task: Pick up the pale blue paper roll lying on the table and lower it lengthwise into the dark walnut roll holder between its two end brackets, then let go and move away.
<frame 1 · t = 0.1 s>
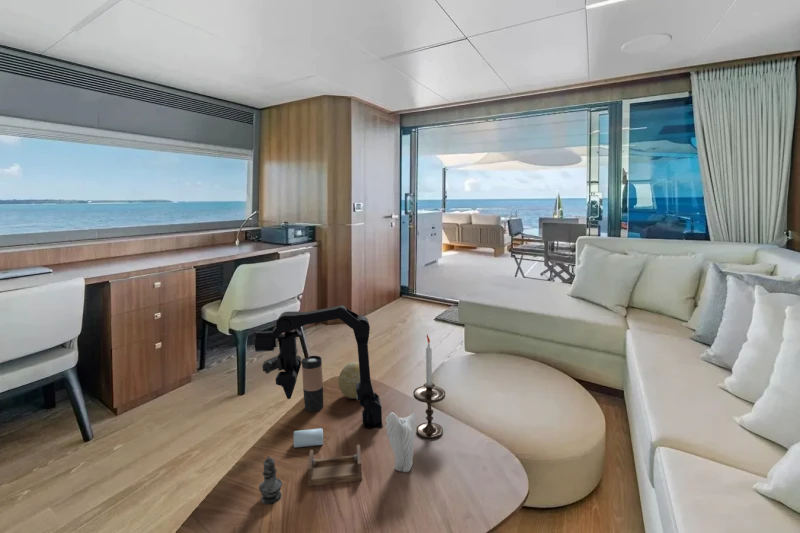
hand: (290, 392, 133), 15 cm above the table, tool pointing down, fingers open, 9 cm apart
candlestick: (429, 432, 134), on the table
roll: (308, 444, 128), on the table
fossilized egg: (354, 397, 160), on the table
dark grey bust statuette: (271, 497, 104), on the table
white angel figurine: (403, 467, 115), on the table
travel mug: (314, 408, 152), on the table
holder: (335, 472, 113), on the table
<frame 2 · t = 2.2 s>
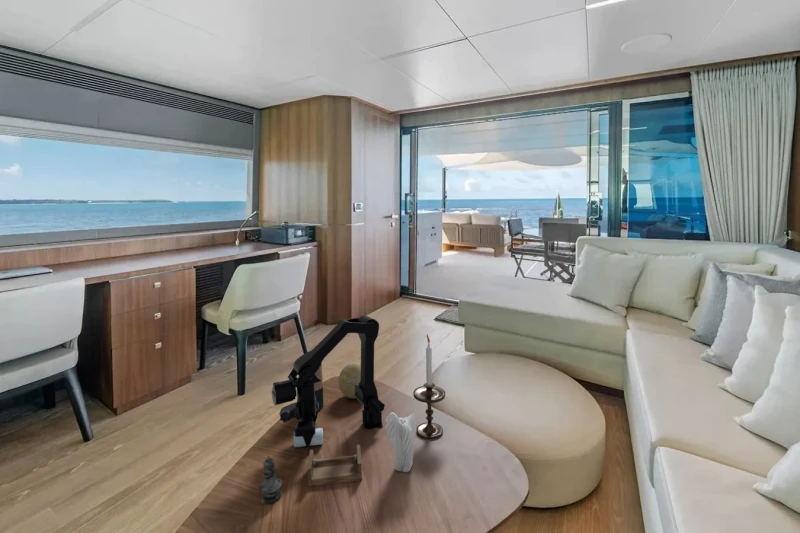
hand: (308, 440, 127), 1 cm above the table, tool pointing down, fingers closed on roll, 5 cm apart
roll: (308, 444, 128), on the table, touching gripper
everything else where it was.
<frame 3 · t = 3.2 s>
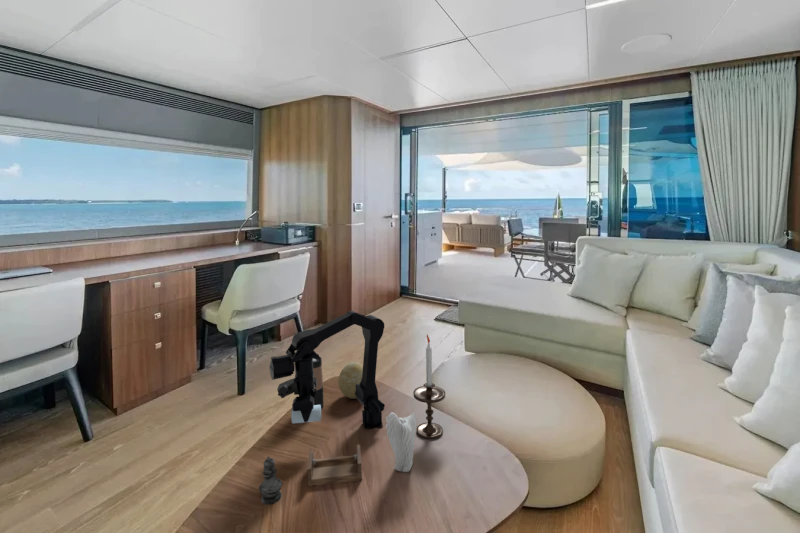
hand: (306, 417, 126), 10 cm above the table, tool pointing down, fingers closed on roll, 5 cm apart
roll: (306, 421, 126), point 8 cm above the table, touching gripper
everything else where it was.
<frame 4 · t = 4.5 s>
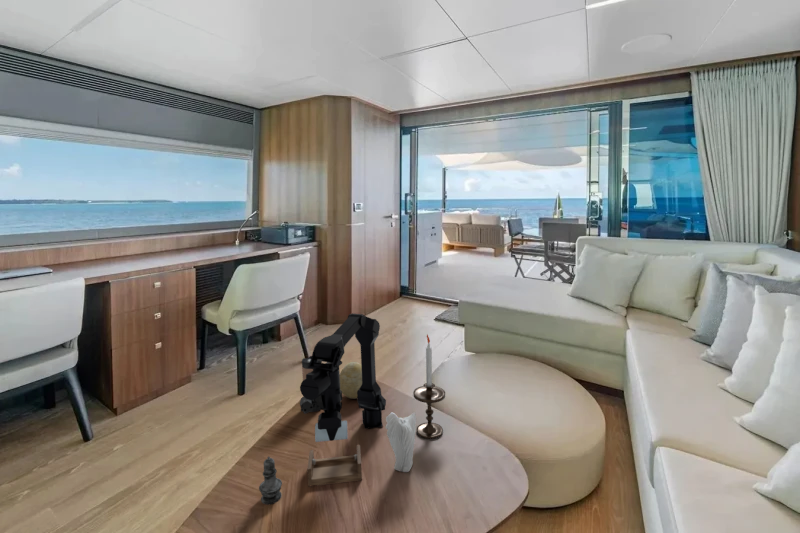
hand: (332, 435, 112), 12 cm above the table, tool pointing down, fingers closed on roll, 5 cm apart
roll: (332, 439, 112), point 10 cm above the table, touching gripper
everything else where it was.
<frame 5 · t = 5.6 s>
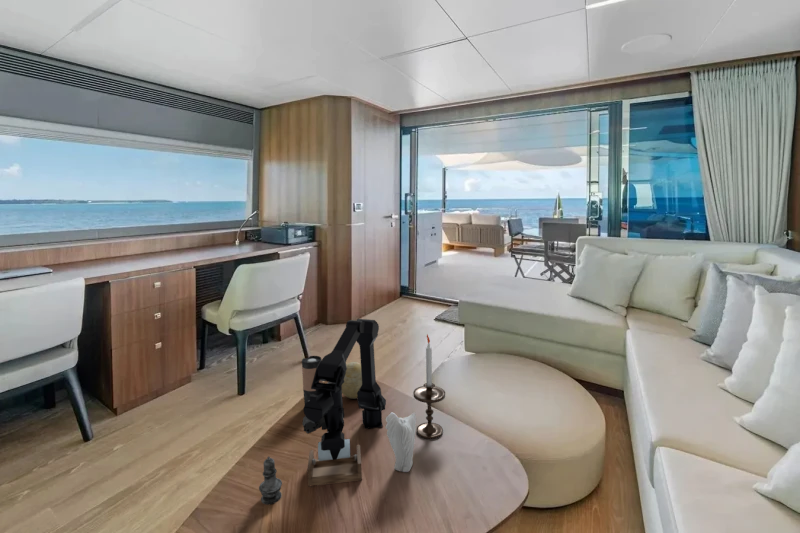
hand: (334, 453, 112), 6 cm above the table, tool pointing down, fingers closed on roll, 5 cm apart
roll: (334, 457, 113), point 5 cm above the table, touching gripper
everything else where it was.
when the fingers open (3 cm above the table, at t = 6.5 s): roll drops 1 cm, resting on holder.
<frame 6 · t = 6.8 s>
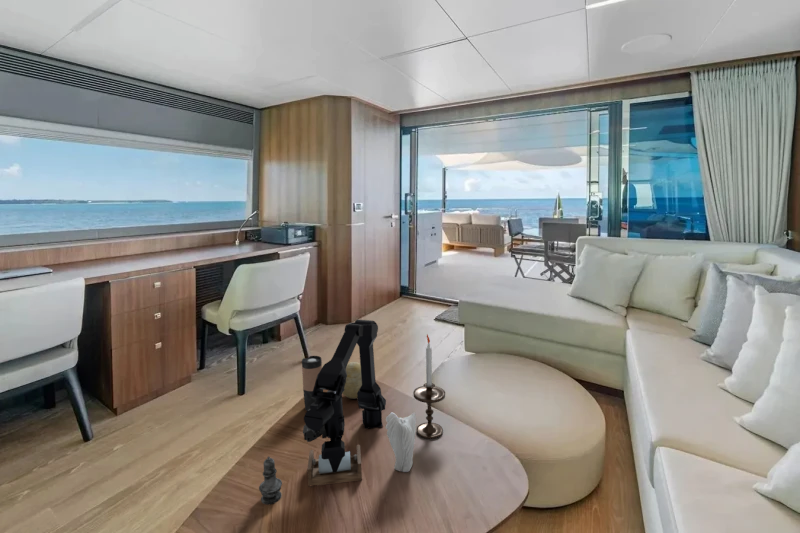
hand: (335, 461, 113), 3 cm above the table, tool pointing down, fingers open, 8 cm apart
roll: (335, 470, 113), point 1 cm above the table, touching holder
everything else where it was.
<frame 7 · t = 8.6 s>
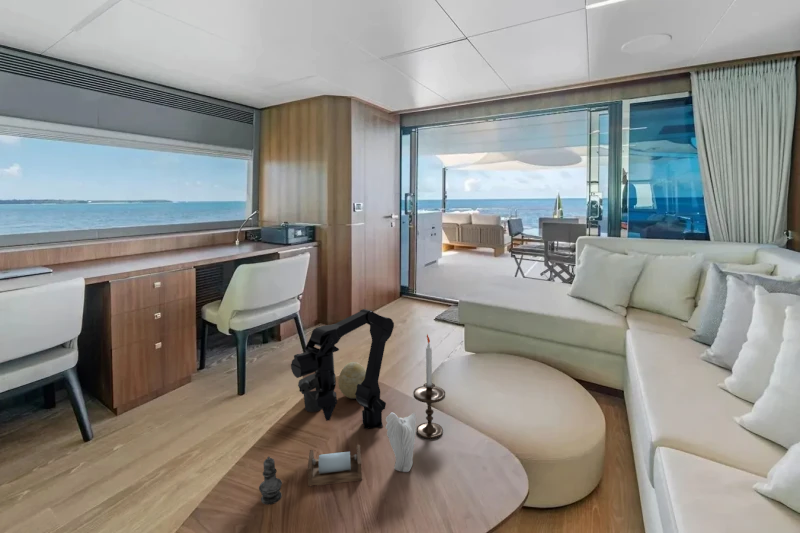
hand: (327, 412, 125), 12 cm above the table, tool pointing down, fingers open, 9 cm apart
nothing on the table moved.
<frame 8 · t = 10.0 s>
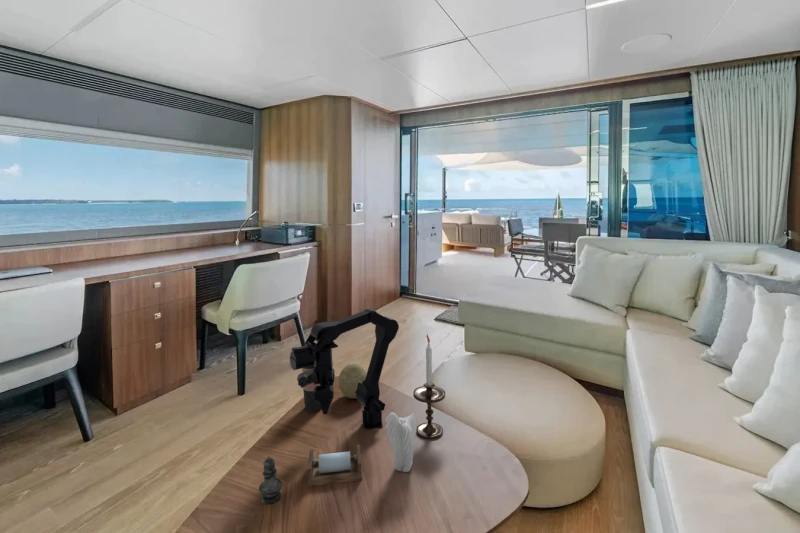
hand: (325, 407, 128), 12 cm above the table, tool pointing down, fingers open, 9 cm apart
nothing on the table moved.
at the end: roll 0.1 cm off-centre on the holder, point 0.8 cm above the holder's base; the gripper is holding nothing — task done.
